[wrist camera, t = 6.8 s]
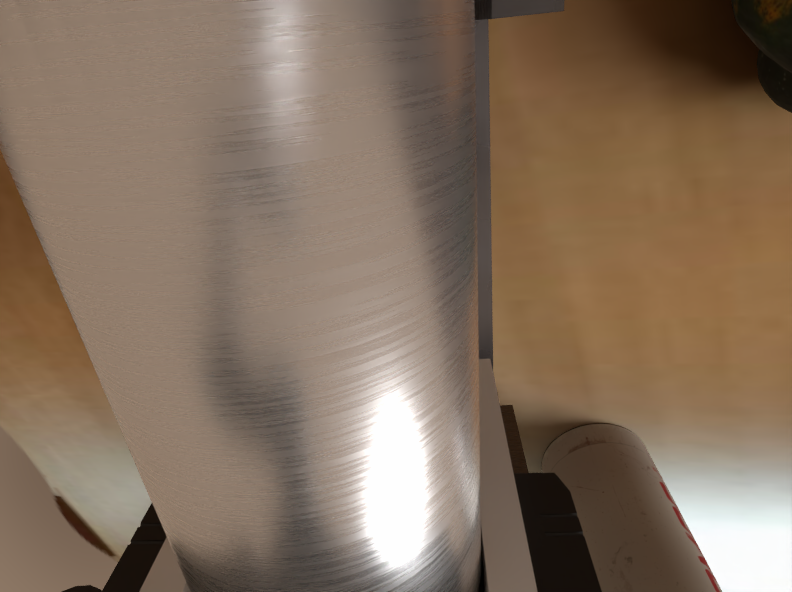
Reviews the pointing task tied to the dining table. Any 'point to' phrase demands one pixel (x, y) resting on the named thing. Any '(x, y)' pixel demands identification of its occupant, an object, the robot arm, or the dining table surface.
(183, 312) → the tube
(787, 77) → the squash
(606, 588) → the thermos bottle
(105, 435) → the dining table surface
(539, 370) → the dining table surface
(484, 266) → the grey cradle stand
